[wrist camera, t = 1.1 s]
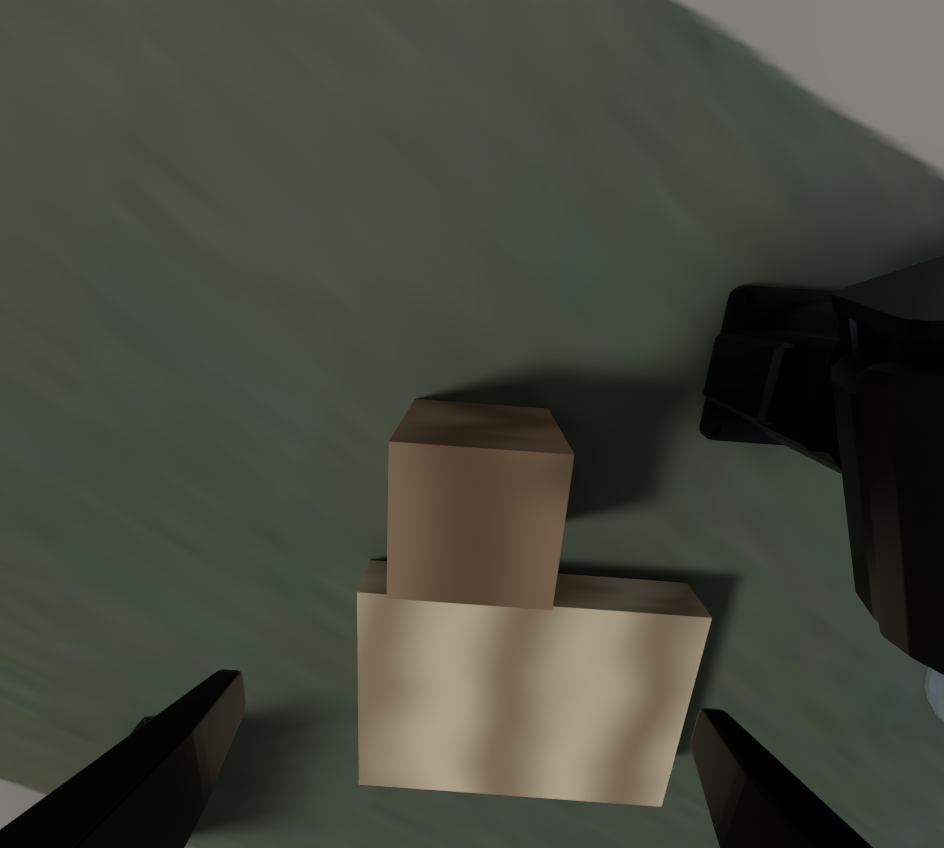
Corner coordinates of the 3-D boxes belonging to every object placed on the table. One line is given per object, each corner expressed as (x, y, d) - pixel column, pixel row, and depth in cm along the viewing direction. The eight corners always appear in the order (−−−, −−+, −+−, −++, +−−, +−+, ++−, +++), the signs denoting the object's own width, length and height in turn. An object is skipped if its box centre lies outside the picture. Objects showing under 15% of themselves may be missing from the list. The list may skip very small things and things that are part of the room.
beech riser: (687, 582, 22) (711, 617, 20) (644, 758, 26) (661, 806, 23) (370, 560, 22) (357, 592, 20) (370, 738, 26) (359, 784, 23)
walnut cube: (548, 407, 20) (574, 454, 14) (533, 526, 22) (552, 610, 16) (415, 398, 20) (388, 441, 14) (411, 517, 22) (386, 598, 16)
